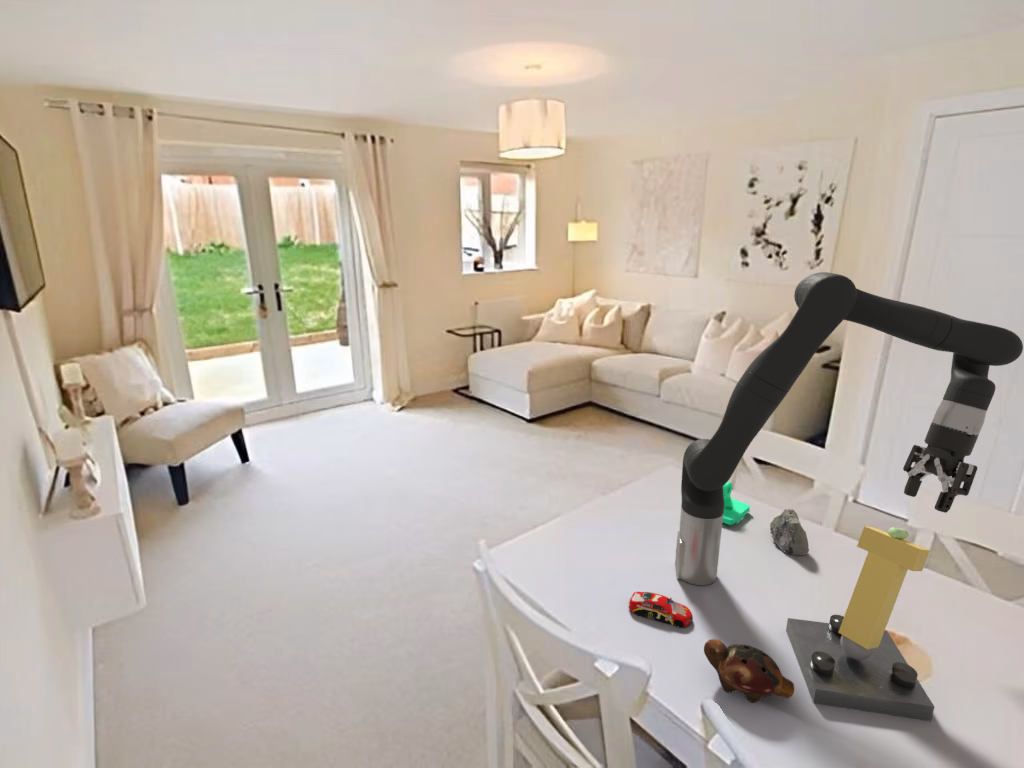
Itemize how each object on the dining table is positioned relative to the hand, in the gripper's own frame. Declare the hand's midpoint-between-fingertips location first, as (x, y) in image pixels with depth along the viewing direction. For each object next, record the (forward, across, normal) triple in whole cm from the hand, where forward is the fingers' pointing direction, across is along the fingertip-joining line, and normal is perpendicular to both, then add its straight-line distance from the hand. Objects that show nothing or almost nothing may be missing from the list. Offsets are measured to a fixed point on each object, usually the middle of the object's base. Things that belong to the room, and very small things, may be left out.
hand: (924, 503), depth 109 cm
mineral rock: (+24, -30, -5) cm, 39 cm away
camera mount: (+26, -43, -16) cm, 53 cm away
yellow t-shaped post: (+29, +14, -13) cm, 35 cm away
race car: (+39, -2, -42) cm, 58 cm away
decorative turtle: (+39, +17, -32) cm, 53 cm away
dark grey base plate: (+32, +13, -12) cm, 37 cm away
